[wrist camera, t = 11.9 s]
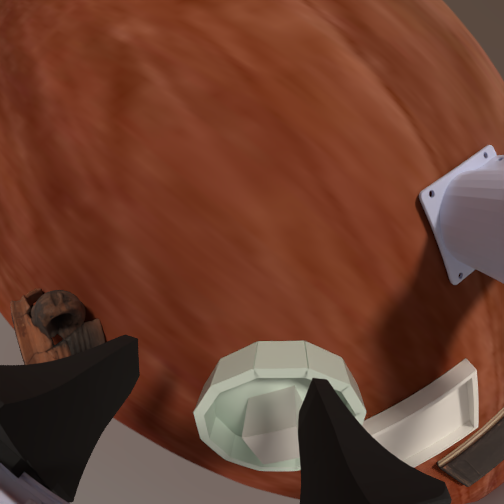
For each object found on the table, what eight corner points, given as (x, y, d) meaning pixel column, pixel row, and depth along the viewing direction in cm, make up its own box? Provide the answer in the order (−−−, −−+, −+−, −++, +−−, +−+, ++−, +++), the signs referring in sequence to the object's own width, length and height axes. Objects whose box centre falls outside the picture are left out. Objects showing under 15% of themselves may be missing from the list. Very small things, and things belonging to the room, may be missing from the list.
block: (309, 415, 20) (312, 454, 16) (266, 426, 21) (263, 464, 17) (294, 385, 20) (296, 426, 15) (248, 397, 20) (241, 437, 16)
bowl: (314, 311, 19) (321, 335, 16) (373, 412, 21) (382, 438, 17) (176, 377, 21) (163, 402, 18) (256, 456, 23) (253, 481, 20)
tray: (465, 358, 19) (476, 369, 16) (471, 416, 20) (478, 426, 18) (342, 430, 21) (345, 446, 19) (373, 471, 23) (376, 484, 21)
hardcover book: (519, 385, 19) (526, 393, 17) (524, 429, 21) (528, 435, 19) (434, 459, 23) (439, 470, 21) (463, 481, 25) (466, 488, 23)
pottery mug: (103, 381, 24) (38, 402, 17) (71, 310, 27) (12, 321, 20) (125, 327, 18) (22, 352, 11) (86, 236, 21) (2, 243, 15)
